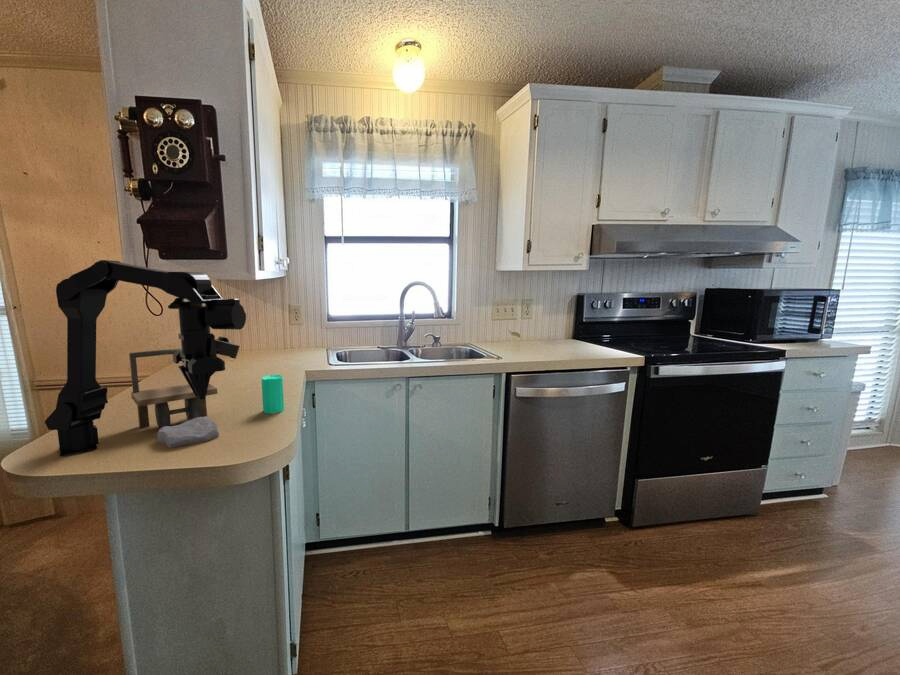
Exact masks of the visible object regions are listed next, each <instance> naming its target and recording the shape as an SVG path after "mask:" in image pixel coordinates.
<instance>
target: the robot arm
mask: <svg viewBox="0 0 900 675" xmlns="http://www.w3.org/2000/svg"><path fill="white" fill-rule="evenodd" d="M119 281H120V282H125V283H129V284H135V285H141V286H147V287H152V288H157V289H159V290H162V291H163V292H165V293H166V294H168V295H171V296H173V297H176V298H174V301H172V302H171V303H170V304H169V305H167V308H168V309H170V310H171V309H172V310H178V321H179V332H180V333H178V339H180V344H181V345H180V346H181V347H180V348H182V350H177V351H176V352H175V353H174V354H172V359H173V360H172V362H173V363H174V364H177V365H178V364H179V363H180V362H181V363H182V365H179V366H178V369H179V371H180V372H181V374H182V376H183V377H184V379H185V380H186V382H187V384H189V386H190V387H191V389H192V391H193V392H194V394H195V396H196V397H199V399H200V400H202V399H205V398H206V399H207V396H206V393H207V389H208V385H209V384H210V380H211V376H213V375H214V374H215V373H216V372H223V371H226V362H225V360H223V358H220V357H219V356H217V355H221V356H225V357H229V358H231V359H234V360H235V359H237V356H238V354H239V351H240V350H239V349H240V348H241V347H240V345H238V344H235V343H233V342H229V340H230V339H229V338H228V337H224V336H221V335H220V336H218V337H217V339H216V335H215V334H214V333H212V332H211V329H212V330H230V331H231V330H232V331H233V330H236V331H237V330H242V329H243V328H244V326H245V324H246V321H247V314H246V311H245V309H244V308H245V307H244V306H243V305H242V304H241V302H240V301H241V300H240V298H228V299H226V298H225V299H224V298H223V297H222V296H221V295H220V293H219V292H218V291H217V290H216V288H215V287H214V286H213V284H212V281H211V279H210V278H209V275H208V274H206V273H204V272H201V271H200V272H199V271H198V272H197V271H167V270H161V269H160V270H159V269H156V268H149V267H146V266H140V265H136V264H132V263H131V264H130V263H125V262H122V261H119V260H107V259H105V260H104V259H101V260H98V261H96V262H94V263H93V264H92V265H90V266H89V267H87V268H85V269H82V270H80V271H78V272H76V273H74V274H71V275H70V276H69V277H68V278H64V279H62V280H61V281H59V283H58V282H57V284H56V287H55V293H56V299H57V305H58V308H59V309H60V310H61V312H62V313H63V315H64V316H65V317H66V321H67V322H66V324H67V329H66V330H67V331H66V334H67V335H66V336H67V337H66V338H67V339H66V344H67V345H66V349H67V351H66V352H67V354H66V356H67V357H66V362H67V363H66V365H67V366H66V382H65V384H64V386H63V387H62V388H61V390H60V391H59V392H58V394H57V400H56V406H55V409H54V410H53V412H51V414H50V415H49V416H48V417H47V418H46V419H45V420H44V424H45V425H46V428H47V430H48V431H57V437H58V446H59V447H58V454H59V457H65V456H66V457H67V456H69V455H75V454H81V453H84V452H89V451H95V450H98V445H99V444H100V442H99V433H98V432H99V431H98V427H97V425H95V424H94V421H95V420H99V419H101V416H102V412H103V410H104V409H105V407H106V404H108V403H109V400H108V398H107V396H108V387H107V386H101V384H100V383H99V382H98V381H97V377H96V376H97V372H96V371H97V319H98V318H99V316H100V314H101V313H102V312H103V310H104V309H105V306H106V302H107V296H108V295H109V293H111V292H112V291H114V290H115V289H116V288H117V285H118V283H119ZM203 304H205V305H203Z"/></svg>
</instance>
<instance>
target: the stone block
mask: <svg viewBox="0 0 900 675" xmlns="http://www.w3.org/2000/svg"><path fill="white" fill-rule="evenodd" d="M219 436H220V431H219V428H218V426H217V424H216V423H215V422H214V420H212V419H211V418H209V417H205V416H201V417H198V418H194V419H192V420H186V421H184V422H182V423H180V424H177V425H173V426H171V425H170V426H164V427H162V428H161V429H158V432H157V433H156V439H157V441H158V442H159V443H160V444H163V445H166V447H167V448H175V447H181V446H185V445H186V446H187V445H193V444H197V443H201V442H207V441H210V440H213V439H216V438H219Z"/></svg>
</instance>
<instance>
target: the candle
mask: <svg viewBox="0 0 900 675" xmlns="http://www.w3.org/2000/svg"><path fill="white" fill-rule="evenodd" d="M283 379H284V377H283V375H282V374H268V375H264V376H262V377H261V392H262V394H261V395H262V410H263V411H262V412H263V413H265V414H277V413H281V412H283V411H284V410H285V403H284V401H285V400H284V399H285V398H284V382H283V381H284V380H283Z"/></svg>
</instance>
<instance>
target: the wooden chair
mask: <svg viewBox="0 0 900 675" xmlns="http://www.w3.org/2000/svg"><path fill="white" fill-rule="evenodd" d="M177 350H182V347H179V348H171V349H158V350H148V351H139V352H138V351H137V352H136V351H135V352H129V353H128V356H129V363H130V364H129V366H130V374H131V375H130V376H131V386H132V391H131V392H130V396H131V399H132V400H133V402H134V403H135V404H136V405H137V417H138V427H139V428H140V429H143V428H148V427H150V418H149V408H148V407H149V406H150V405H151V406H152V405H154V412H155V413H154V414H155V419H156V424H157V427H158V430H160V429H161V428H162V427H164V426H170V427H171V415H177V414H181V413H185V416H186V421H188V420H192V419H194V418H198V417H205V416H208V412H207V411H208V410H207V396H212V395H218V388H217V387H216V386H214V385H212V384H211V383H209V385H208V389H207V393H206V398H205V399H202V400H200V399H199V397H196V396H195V394H194V392H193V391H192V389H191V387H190V386H189V384H188V383H186V384H181V385H174V386H167V387H159V388H153V389H146V390H140V386H139V376H138V366H137V358H147V357H156V356H157V357H159V356H167V355H173V354H174V353H175V352H176V351H177ZM182 400H184V407H181V408H176V409H175V408H174V409H170V405H169V404H168V403H171V402H175V401H182Z"/></svg>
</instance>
